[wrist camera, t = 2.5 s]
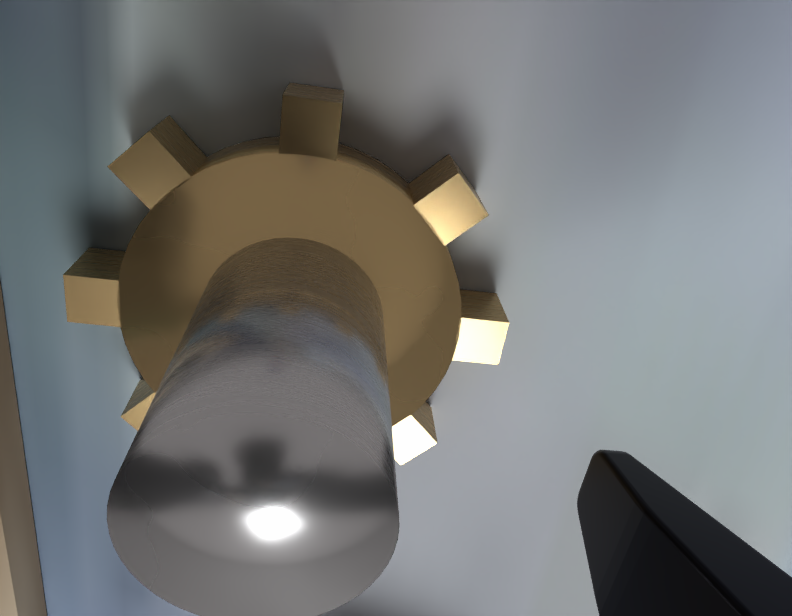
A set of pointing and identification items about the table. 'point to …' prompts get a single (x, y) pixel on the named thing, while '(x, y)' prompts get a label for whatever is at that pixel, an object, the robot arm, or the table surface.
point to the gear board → (15, 504)
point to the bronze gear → (278, 357)
